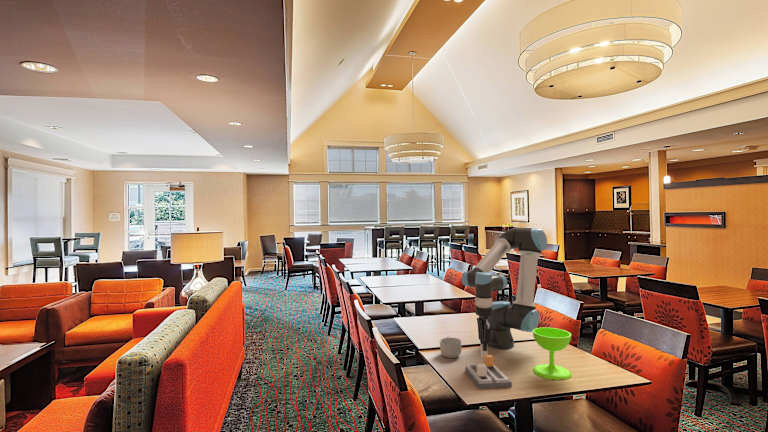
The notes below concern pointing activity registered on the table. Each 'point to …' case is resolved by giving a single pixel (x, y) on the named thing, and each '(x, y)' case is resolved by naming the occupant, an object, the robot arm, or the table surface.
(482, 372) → the fader
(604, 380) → the table surface
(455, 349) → the teacup
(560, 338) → the wineglass
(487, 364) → the fader
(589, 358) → the table surface
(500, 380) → the console
